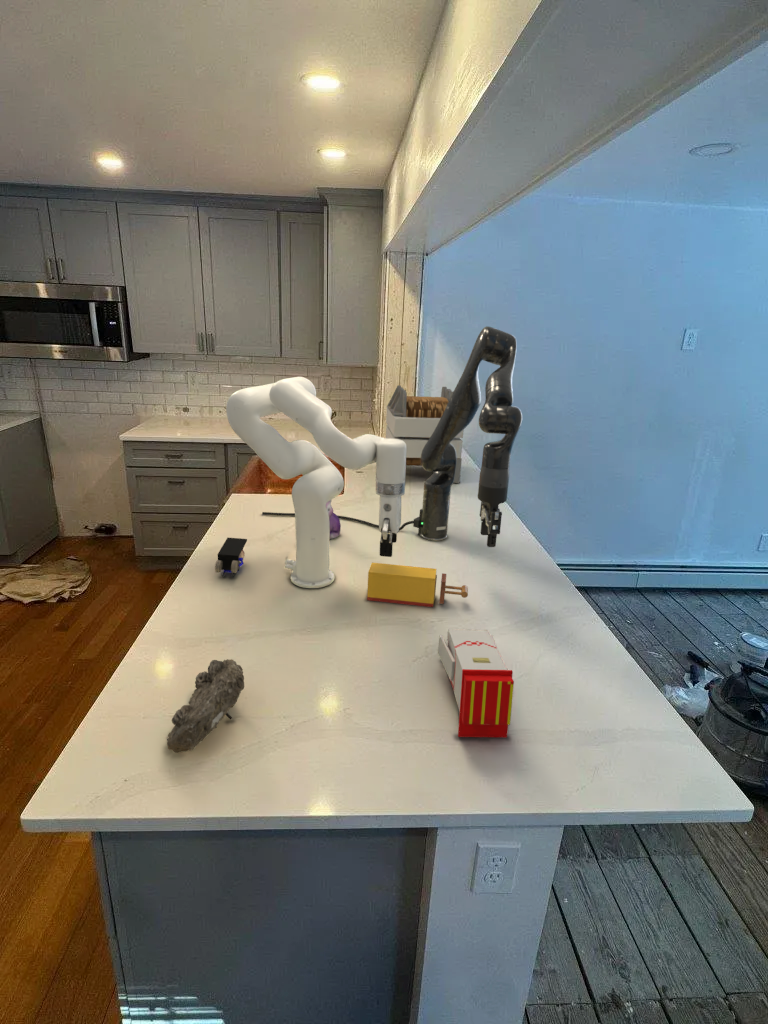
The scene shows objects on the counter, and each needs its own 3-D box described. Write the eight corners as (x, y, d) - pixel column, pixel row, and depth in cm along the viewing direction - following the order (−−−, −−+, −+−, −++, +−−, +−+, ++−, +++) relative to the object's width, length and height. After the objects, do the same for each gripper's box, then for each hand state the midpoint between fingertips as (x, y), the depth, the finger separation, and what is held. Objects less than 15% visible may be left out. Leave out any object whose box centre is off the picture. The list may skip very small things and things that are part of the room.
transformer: (382, 463, 289) (386, 382, 275) (445, 464, 293) (451, 384, 279) (390, 482, 257) (394, 392, 243) (460, 483, 261) (468, 394, 247)
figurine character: (238, 584, 162) (249, 557, 175) (236, 562, 158) (247, 536, 172) (215, 584, 161) (227, 556, 175) (212, 561, 158) (225, 535, 171)
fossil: (192, 660, 117) (244, 628, 112) (224, 691, 120) (276, 661, 115) (142, 746, 98) (202, 712, 93) (182, 779, 101) (242, 748, 96)
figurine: (320, 542, 189) (321, 500, 184) (310, 531, 198) (309, 490, 193) (346, 538, 193) (347, 496, 188) (335, 528, 202) (335, 488, 197)
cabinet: (434, 596, 157) (436, 568, 155) (433, 607, 152) (435, 578, 149) (370, 589, 160) (371, 562, 157) (367, 600, 154) (368, 571, 151)
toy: (488, 613, 130) (523, 677, 101) (484, 667, 133) (517, 744, 104) (435, 612, 130) (455, 676, 101) (432, 666, 133) (451, 743, 103)
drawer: (466, 597, 156) (468, 576, 153) (466, 606, 151) (469, 584, 149) (384, 589, 158) (385, 567, 156) (382, 597, 154) (383, 575, 151)
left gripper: (401, 498, 137) (398, 563, 143) (408, 479, 153) (405, 537, 159) (370, 496, 138) (369, 560, 144) (380, 477, 154) (379, 535, 160)
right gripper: (514, 491, 141) (507, 551, 146) (501, 475, 154) (495, 531, 159) (484, 490, 140) (478, 550, 146) (474, 474, 154) (469, 530, 159)
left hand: (388, 548), depth 151 cm, fingers open, 9 cm apart
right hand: (487, 540), depth 153 cm, fingers open, 8 cm apart
